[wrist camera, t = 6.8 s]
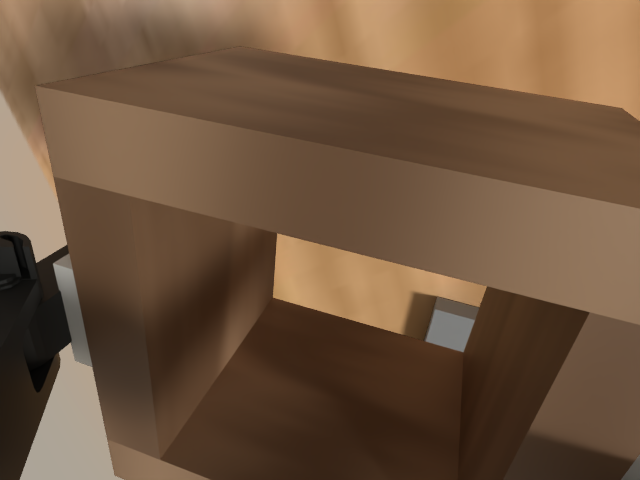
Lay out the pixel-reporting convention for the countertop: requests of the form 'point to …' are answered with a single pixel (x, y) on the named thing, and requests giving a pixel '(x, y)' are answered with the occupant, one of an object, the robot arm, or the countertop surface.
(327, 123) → the collar
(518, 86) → the countertop surface
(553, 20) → the countertop surface
